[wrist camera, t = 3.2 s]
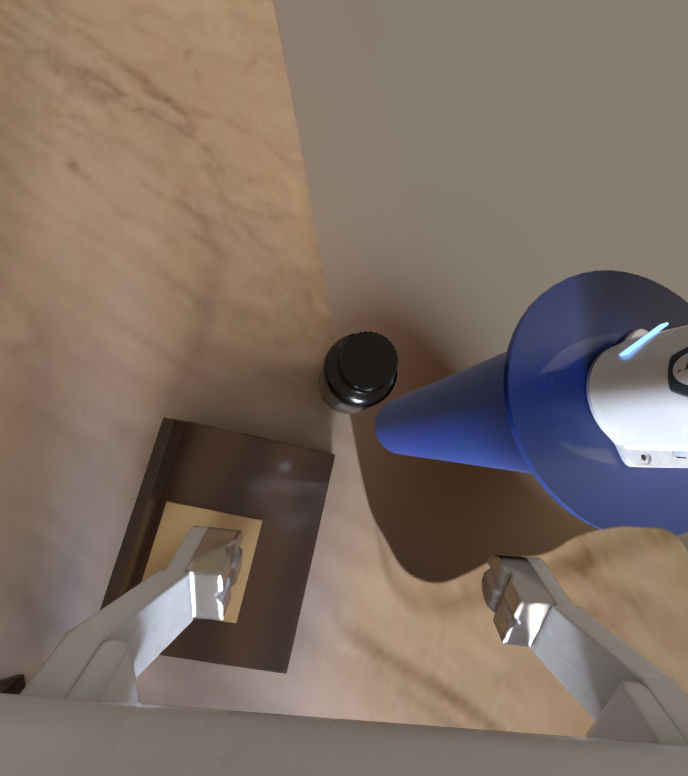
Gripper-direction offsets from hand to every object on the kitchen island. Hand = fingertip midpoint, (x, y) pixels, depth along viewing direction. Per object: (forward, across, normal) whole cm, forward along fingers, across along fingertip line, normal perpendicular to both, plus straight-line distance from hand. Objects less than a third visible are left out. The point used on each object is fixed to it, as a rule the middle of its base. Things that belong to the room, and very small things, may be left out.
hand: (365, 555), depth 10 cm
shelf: (+18, +10, +18) cm, 27 cm away
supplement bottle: (+27, 0, +4) cm, 27 cm away
